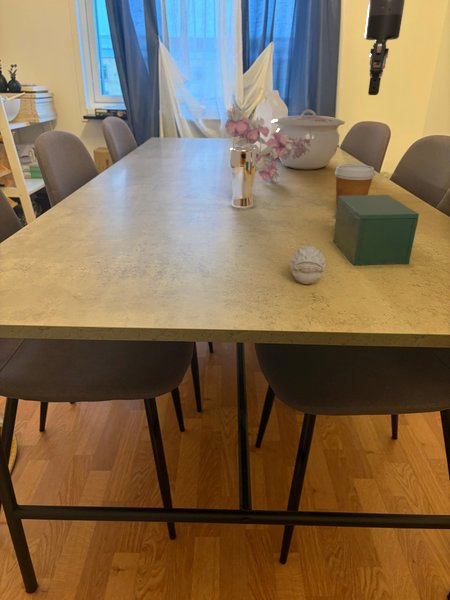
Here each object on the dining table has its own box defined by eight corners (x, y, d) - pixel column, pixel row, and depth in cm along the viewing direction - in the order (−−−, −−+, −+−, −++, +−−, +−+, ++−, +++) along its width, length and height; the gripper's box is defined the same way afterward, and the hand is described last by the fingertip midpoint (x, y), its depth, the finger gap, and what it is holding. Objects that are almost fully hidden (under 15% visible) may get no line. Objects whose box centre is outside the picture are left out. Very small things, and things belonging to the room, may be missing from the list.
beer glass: (250, 209, 115) (252, 150, 108) (226, 207, 117) (226, 149, 110) (257, 203, 120) (259, 147, 114) (234, 201, 123) (234, 145, 116)
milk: (270, 147, 215) (272, 89, 203) (287, 150, 207) (290, 90, 195) (252, 150, 208) (254, 90, 196) (269, 153, 200) (272, 90, 188)
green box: (333, 241, 93) (337, 200, 89) (381, 239, 93) (388, 199, 89) (353, 265, 81) (360, 219, 77) (408, 264, 81) (418, 218, 77)
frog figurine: (287, 291, 71) (290, 251, 68) (288, 274, 77) (291, 237, 74) (325, 293, 70) (329, 253, 67) (323, 276, 76) (327, 238, 73)
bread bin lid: (337, 199, 89) (337, 195, 89) (387, 198, 90) (387, 194, 89) (360, 219, 77) (360, 215, 76) (418, 218, 77) (419, 213, 77)
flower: (295, 189, 129) (303, 105, 128) (220, 181, 128) (227, 96, 127) (283, 202, 149) (289, 129, 148) (218, 196, 148) (224, 122, 147)
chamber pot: (343, 174, 156) (350, 112, 146) (266, 172, 159) (269, 111, 150) (337, 161, 180) (343, 107, 171) (271, 159, 184) (274, 106, 175)
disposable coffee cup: (372, 214, 111) (380, 166, 105) (362, 223, 103) (370, 172, 98) (336, 209, 115) (341, 162, 110) (324, 218, 108) (329, 168, 102)
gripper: (403, 9, 90) (389, 95, 97) (401, 17, 102) (389, 93, 109) (366, 11, 92) (355, 95, 99) (368, 18, 104) (358, 93, 111)
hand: (373, 94), depth 104 cm, fingers open, 8 cm apart
